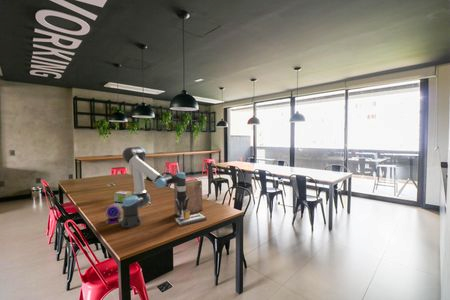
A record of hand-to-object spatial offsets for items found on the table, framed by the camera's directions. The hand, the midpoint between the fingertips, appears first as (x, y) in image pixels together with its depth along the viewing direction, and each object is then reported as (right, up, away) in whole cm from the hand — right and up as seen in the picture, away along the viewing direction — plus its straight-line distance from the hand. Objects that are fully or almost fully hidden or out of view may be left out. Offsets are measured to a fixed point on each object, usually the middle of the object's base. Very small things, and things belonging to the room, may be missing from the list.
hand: (182, 217), depth 184 cm
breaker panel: (+6, -3, +5) cm, 8 cm away
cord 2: (+10, -4, -2) cm, 11 cm away
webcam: (-61, -5, +6) cm, 61 cm away
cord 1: (+2, -3, +12) cm, 12 cm away
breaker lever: (+4, -1, +3) cm, 5 cm away
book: (+2, -3, +25) cm, 25 cm away
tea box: (-74, -2, +50) cm, 89 cm away
